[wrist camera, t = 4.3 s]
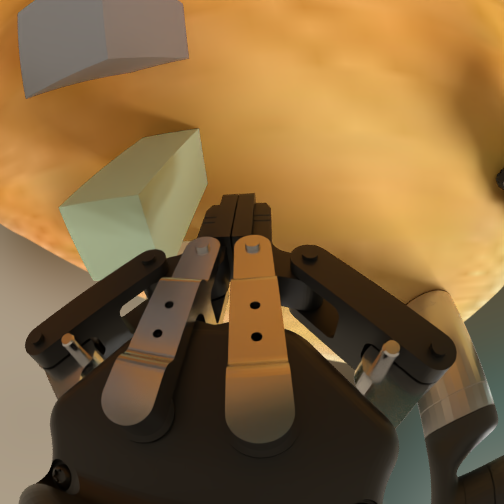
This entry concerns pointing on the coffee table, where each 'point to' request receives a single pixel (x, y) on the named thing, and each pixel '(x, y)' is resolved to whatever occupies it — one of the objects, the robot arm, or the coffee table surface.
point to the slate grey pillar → (96, 39)
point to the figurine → (500, 179)
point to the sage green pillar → (138, 202)
